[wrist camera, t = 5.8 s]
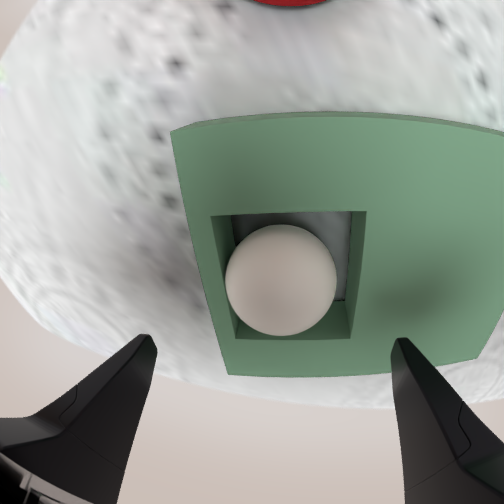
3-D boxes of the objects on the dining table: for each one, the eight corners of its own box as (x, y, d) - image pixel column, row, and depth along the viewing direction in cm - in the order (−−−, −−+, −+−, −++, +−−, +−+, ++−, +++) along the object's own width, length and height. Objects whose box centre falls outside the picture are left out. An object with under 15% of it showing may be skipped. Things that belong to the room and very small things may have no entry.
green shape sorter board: (514, 135, 9) (548, 149, 7) (463, 328, 16) (477, 358, 14) (195, 122, 12) (169, 131, 10) (236, 339, 19) (228, 374, 17)
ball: (237, 206, 14) (339, 208, 13) (248, 286, 17) (334, 291, 16) (196, 261, 10) (340, 268, 9) (220, 350, 13) (329, 363, 11)
